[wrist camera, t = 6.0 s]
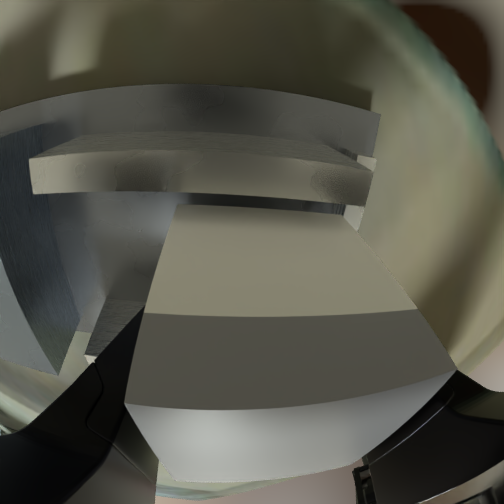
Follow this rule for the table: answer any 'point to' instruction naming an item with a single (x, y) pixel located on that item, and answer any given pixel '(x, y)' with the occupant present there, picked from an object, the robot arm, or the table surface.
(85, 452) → the robot arm
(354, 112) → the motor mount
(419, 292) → the table surface
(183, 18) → the table surface
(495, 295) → the table surface
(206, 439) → the grey rectangular block
